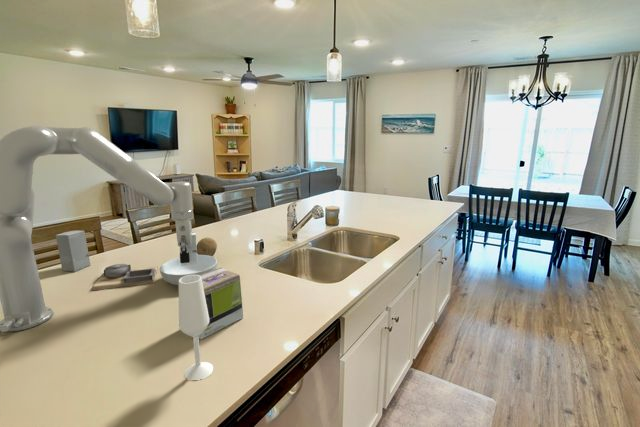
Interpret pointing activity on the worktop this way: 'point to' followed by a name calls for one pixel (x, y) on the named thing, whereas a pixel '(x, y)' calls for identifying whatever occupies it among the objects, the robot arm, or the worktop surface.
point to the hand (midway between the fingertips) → (185, 258)
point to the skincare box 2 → (192, 252)
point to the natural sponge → (206, 247)
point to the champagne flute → (194, 321)
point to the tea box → (221, 299)
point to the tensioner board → (124, 276)
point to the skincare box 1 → (73, 250)
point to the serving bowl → (187, 268)
